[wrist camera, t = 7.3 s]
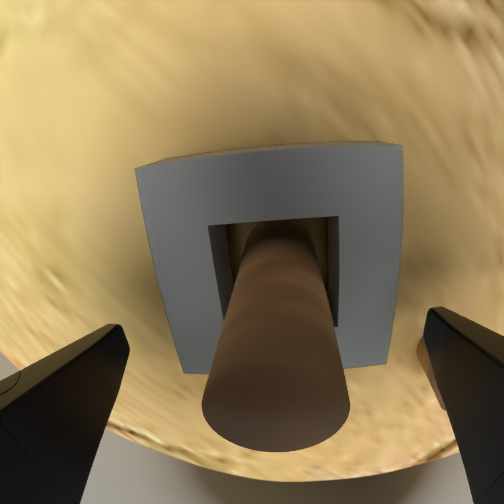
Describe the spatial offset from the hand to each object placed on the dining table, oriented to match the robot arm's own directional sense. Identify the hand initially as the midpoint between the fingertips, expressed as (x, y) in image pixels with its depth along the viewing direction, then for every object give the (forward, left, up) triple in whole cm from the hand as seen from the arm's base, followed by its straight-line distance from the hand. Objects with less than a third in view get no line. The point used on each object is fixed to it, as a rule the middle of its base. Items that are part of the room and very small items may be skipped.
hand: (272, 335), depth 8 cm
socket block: (0, 0, -6) cm, 6 cm away
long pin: (0, 0, -6) cm, 6 cm away
